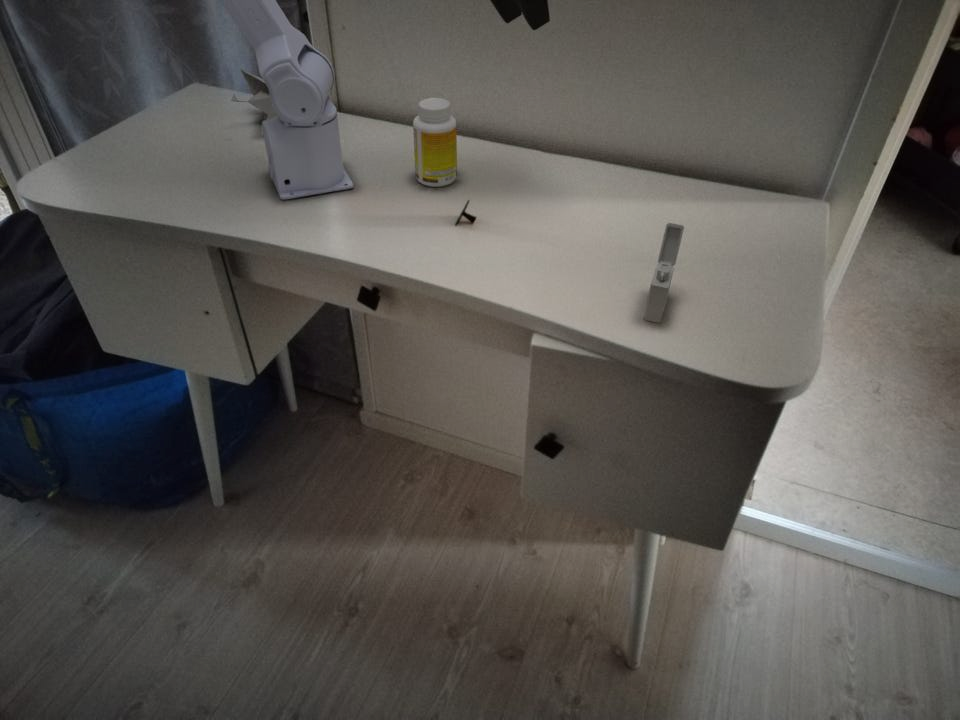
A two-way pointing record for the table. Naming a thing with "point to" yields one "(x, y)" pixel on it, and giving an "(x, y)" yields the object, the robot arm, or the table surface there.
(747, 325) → the table surface
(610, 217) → the table surface
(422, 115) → the supplement bottle
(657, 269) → the lighter
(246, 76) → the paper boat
